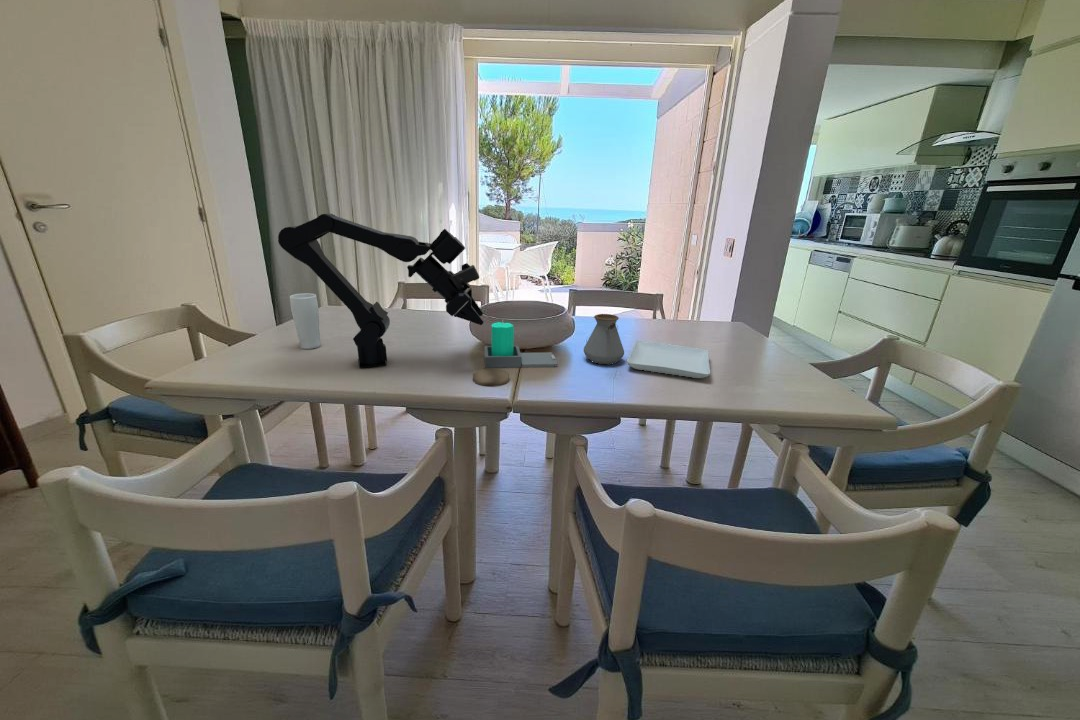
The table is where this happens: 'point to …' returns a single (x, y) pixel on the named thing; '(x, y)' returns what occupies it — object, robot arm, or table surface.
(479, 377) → the coaster
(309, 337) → the drinking glass
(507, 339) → the candle
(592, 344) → the coffee pot
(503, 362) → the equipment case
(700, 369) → the salad plate
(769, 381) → the table surface
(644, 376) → the table surface
